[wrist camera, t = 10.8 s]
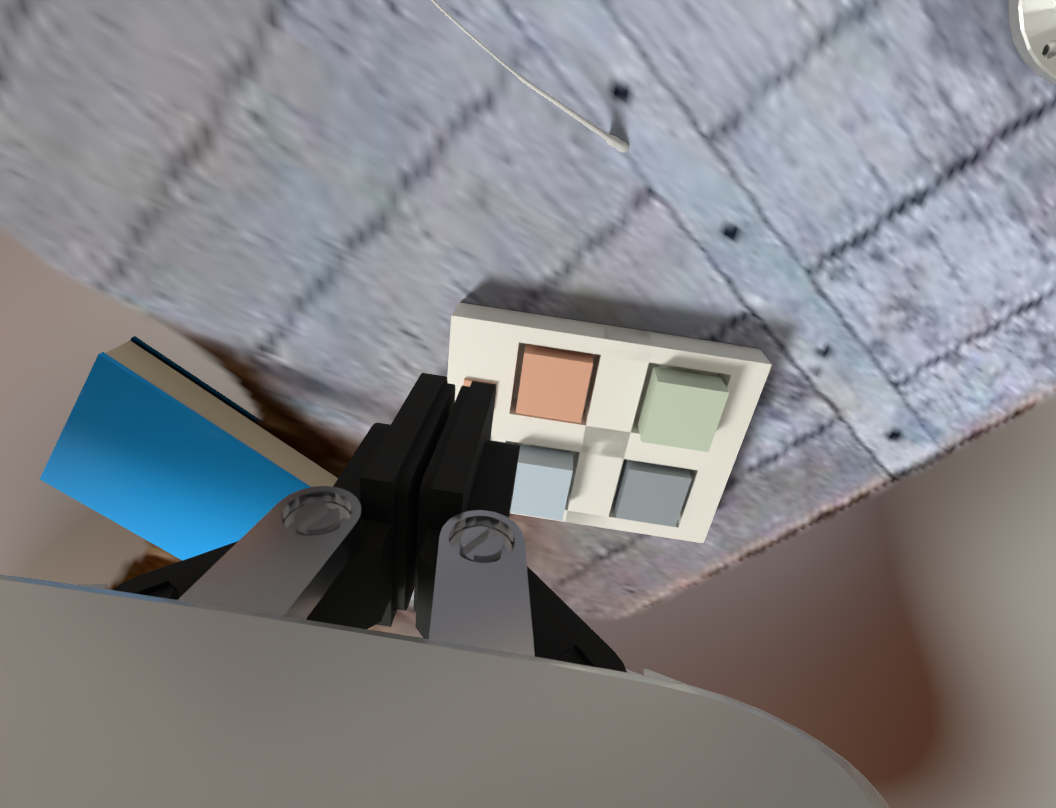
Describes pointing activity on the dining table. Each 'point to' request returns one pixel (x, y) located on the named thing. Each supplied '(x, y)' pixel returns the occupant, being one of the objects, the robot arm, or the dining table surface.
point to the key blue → (542, 482)
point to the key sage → (682, 409)
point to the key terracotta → (554, 383)
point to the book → (171, 455)
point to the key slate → (651, 492)
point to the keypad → (609, 406)
